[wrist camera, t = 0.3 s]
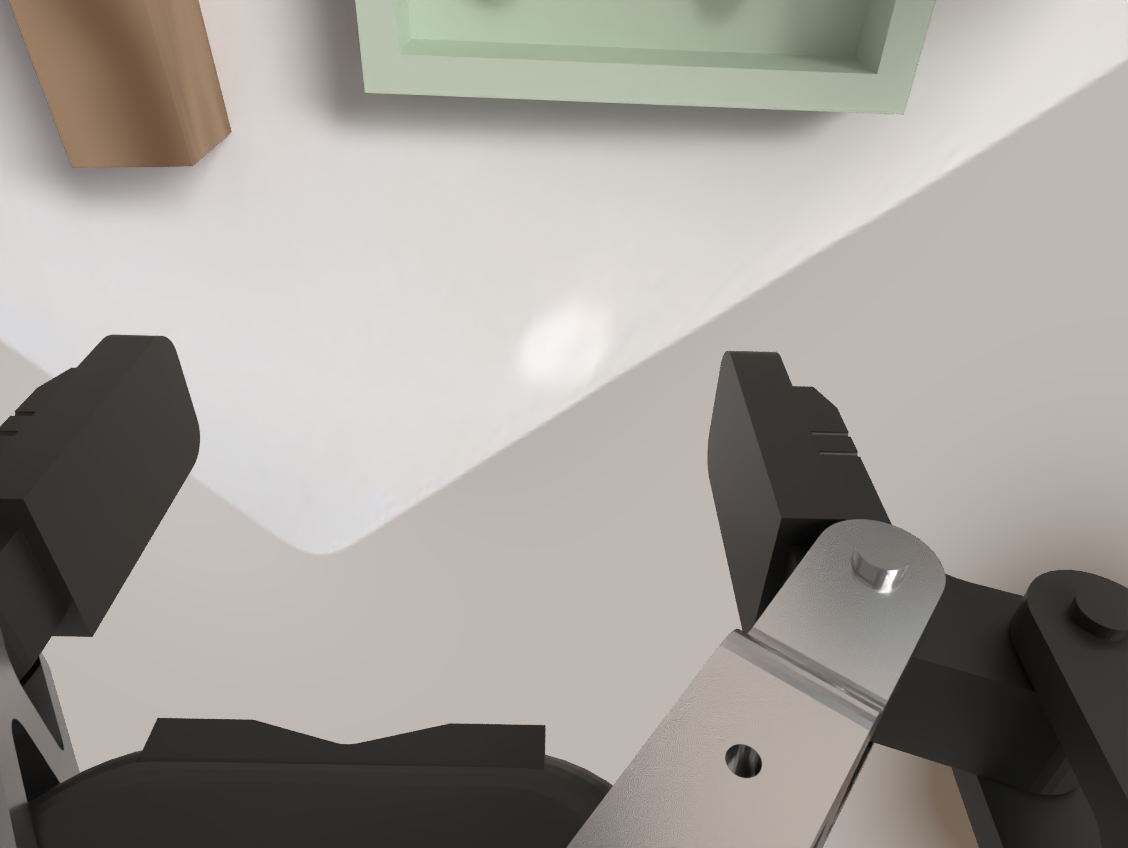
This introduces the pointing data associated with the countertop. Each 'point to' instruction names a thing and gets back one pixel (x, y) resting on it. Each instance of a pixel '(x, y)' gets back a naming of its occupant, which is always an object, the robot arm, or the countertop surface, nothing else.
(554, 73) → the pale green tray
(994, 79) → the countertop surface
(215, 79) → the walnut plank
